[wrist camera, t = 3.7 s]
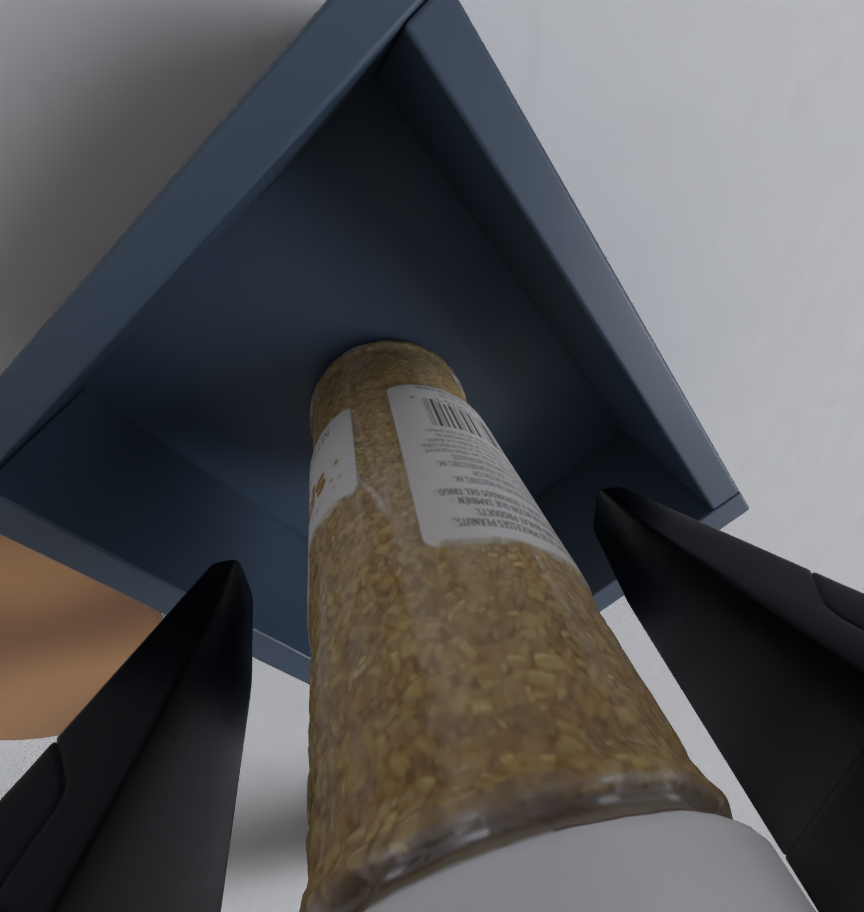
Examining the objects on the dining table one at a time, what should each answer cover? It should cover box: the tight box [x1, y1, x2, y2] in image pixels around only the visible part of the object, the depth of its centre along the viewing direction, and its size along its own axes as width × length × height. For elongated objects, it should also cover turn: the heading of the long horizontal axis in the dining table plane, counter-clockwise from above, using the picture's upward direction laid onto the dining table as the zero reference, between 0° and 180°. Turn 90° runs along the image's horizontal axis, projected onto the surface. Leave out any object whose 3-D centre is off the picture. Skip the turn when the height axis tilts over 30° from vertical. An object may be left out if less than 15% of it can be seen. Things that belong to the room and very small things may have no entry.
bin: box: [0, 0, 749, 684], centre depth 13 cm, size 14×12×5 cm
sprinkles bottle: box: [300, 340, 816, 912], centre depth 9 cm, size 5×5×14 cm
